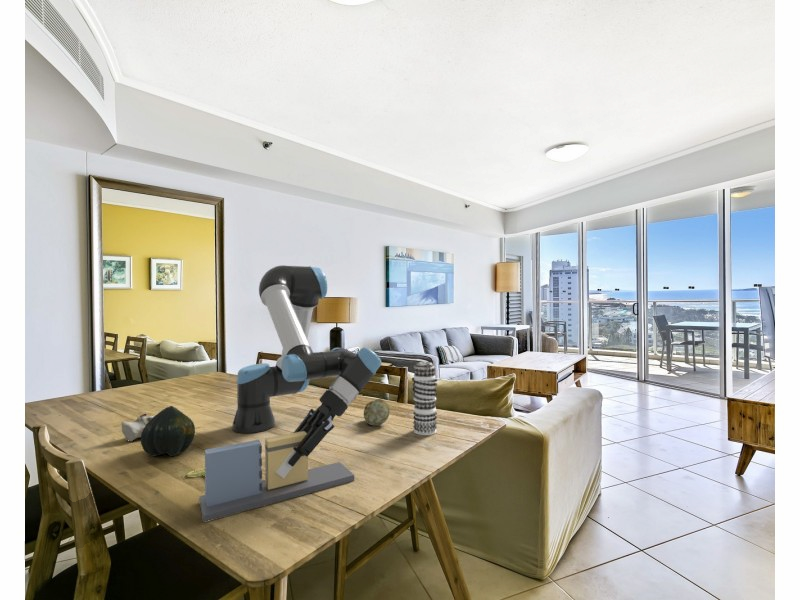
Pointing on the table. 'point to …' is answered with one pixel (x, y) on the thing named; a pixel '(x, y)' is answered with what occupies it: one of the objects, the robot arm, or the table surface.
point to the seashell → (376, 412)
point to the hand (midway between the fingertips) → (277, 472)
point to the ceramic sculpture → (135, 427)
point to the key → (196, 473)
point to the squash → (168, 433)
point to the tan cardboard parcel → (275, 456)
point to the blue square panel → (233, 472)
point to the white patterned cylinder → (424, 398)
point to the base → (281, 491)
